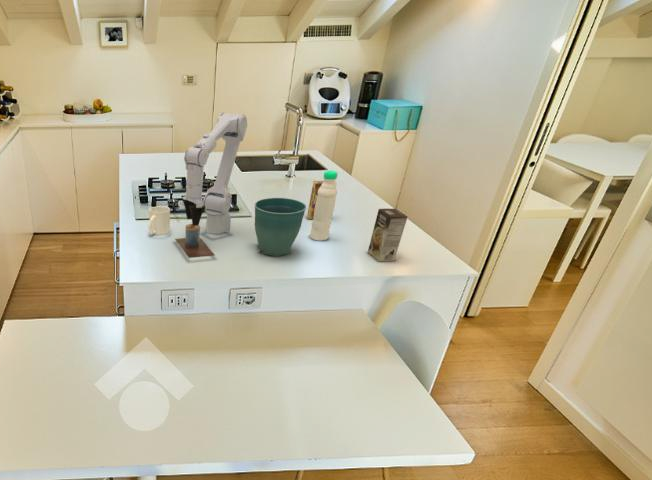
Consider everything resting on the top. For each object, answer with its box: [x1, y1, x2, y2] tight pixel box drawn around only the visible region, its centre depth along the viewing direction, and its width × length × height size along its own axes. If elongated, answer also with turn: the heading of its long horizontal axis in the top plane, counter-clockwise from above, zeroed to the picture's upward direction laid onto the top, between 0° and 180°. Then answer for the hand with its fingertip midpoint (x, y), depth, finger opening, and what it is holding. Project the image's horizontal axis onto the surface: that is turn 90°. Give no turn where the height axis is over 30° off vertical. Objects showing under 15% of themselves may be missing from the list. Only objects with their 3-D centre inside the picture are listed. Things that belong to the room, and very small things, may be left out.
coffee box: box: [367, 208, 408, 262], centre depth 180 cm, size 9×6×16 cm
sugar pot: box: [184, 223, 201, 246], centre depth 192 cm, size 6×6×8 cm
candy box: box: [306, 180, 337, 220], centre depth 216 cm, size 9×4×15 cm, turn 86°
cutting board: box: [174, 236, 215, 259], centre depth 192 cm, size 20×10×2 cm, turn 12°
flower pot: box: [254, 197, 307, 256], centre depth 186 cm, size 18×18×17 cm
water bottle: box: [309, 170, 338, 241], centre depth 194 cm, size 7×7×25 cm
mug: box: [148, 205, 171, 236], centre depth 203 cm, size 12×8×10 cm
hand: (192, 221), depth 189 cm, fingers open, 7 cm apart
